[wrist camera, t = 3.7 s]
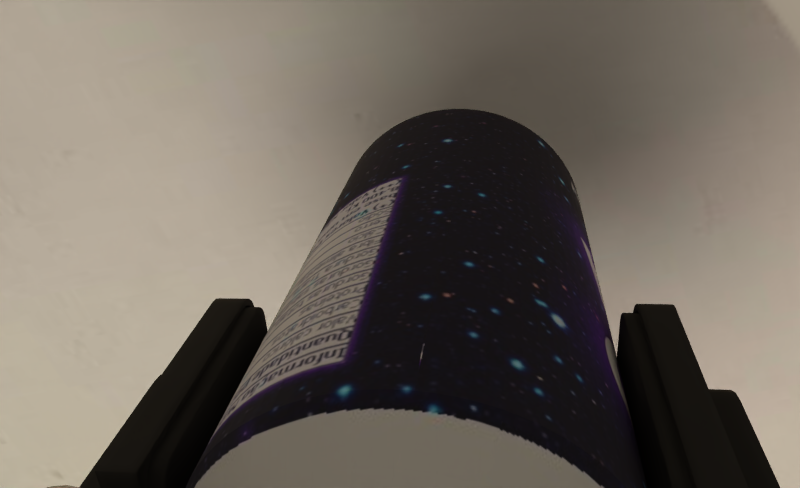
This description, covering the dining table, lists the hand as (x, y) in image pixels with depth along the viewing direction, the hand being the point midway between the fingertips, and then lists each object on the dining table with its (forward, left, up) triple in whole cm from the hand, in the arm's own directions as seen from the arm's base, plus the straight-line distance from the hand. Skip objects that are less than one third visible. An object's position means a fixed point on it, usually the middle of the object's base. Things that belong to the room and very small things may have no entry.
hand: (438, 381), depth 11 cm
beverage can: (0, 0, -7) cm, 7 cm away
